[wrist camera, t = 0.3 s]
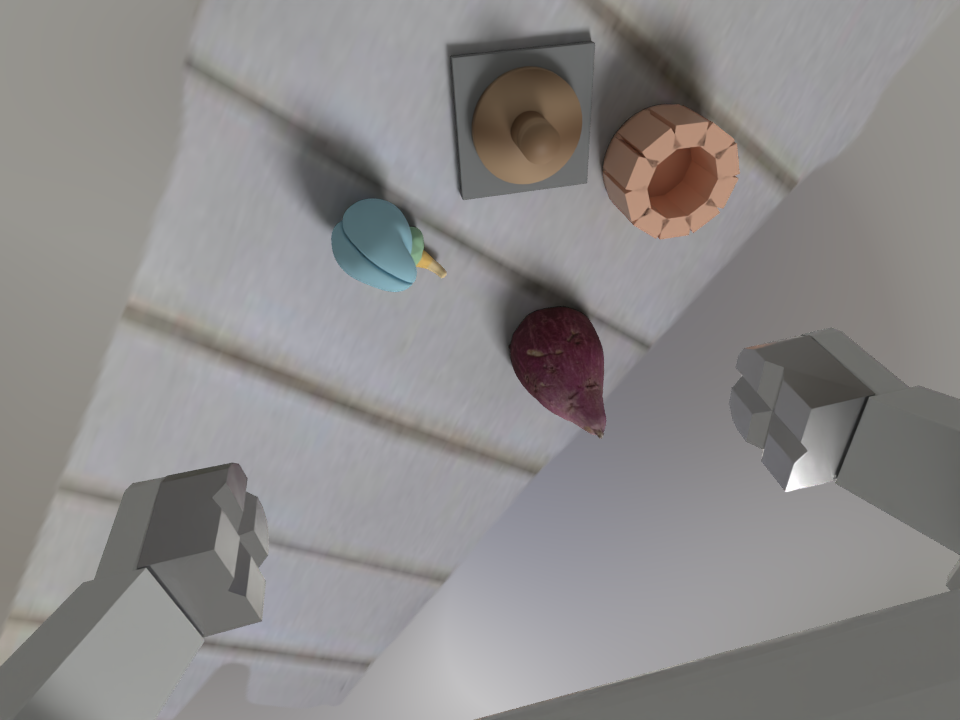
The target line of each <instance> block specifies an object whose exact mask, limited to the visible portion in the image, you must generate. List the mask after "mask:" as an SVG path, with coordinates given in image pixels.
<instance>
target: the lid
mask: <svg viewBox="0 0 960 720" xmlns="http://www.w3.org/2000/svg"><path fill="white" fill-rule="evenodd" d="M581 131H582V111H581V106H580V103H579V100H578V98H577V96H576V94H575V92H574V91H573V89H572V88H571V87H570V85H569V84H568V83H567V82H566V81H565V80H563V79H562V78H561V77H560V76H558V75H557V74H555V73H554V72H552V71H550V70H547V69H545V68H541V67H534V66H525V67H519V68H516V69H513V70H510V71H508V72H506V73H504V74H502V75H501V76H499V77H498V78H496V79H495V80H494V81H493V82H492V83H491V84H490V85H489V86H488V87H487V88H486V89H485V91H484V92H483V94H482V95H481V97H480V98H479V100H478V102H477V105H476V107H475V110H474V114H473V118H472V139H473V143H474V147H475V149H476V152H477V154H478V156H479V157H480V159H481V161H482V163H483V164H484V165H485V167H486V168H487V169H488V170H489V171H490V172H491V173H492V174H493V175H495V176H496V177H498V178H499V179H501V180H503V181H506V182H509V183H514V184H531V183H536V182H539V181H542V180H544V179H546V178H548V177H550V176H552V175H553V174H555V173H556V172H557V171H559V170H560V169H561V168H562V167H563V166H564V165H565V164H566V163H567V161H568V160H569V159H570V158H571V156H572V154H573V153H574V151H575V149H576V147H577V145H578V142H579V139H580V135H581Z"/></svg>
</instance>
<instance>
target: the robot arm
mask: <svg viewBox="0 0 960 720" xmlns="http://www.w3.org/2000/svg"><path fill="white" fill-rule="evenodd" d="M736 369H737V370H738V371H739V373H740V374H741V375H742V377H741V378H740V379H739V380H738V381H737V383H736V384H735V385H734V386H733V387H732V389H731V396H730V402H729V404H730V409H731V415H732V419H733V421H734V423H735V426H736V428H737V430H738V431H739V433H740V434H741V435H742V437H743V438H744V439H745V441H746V442H748V443H750V444H753V445H755V446H757V447H759V448H761V449H762V459H761V461H762V462H763V464H764V465H765V466H766V468H767V469H768V470H769V471H770V473H771V474H772V475H773V477H774V478H775V479H776V480H777V482H778V483H779V484H780V485H781V487H782V488H783V489H784V491H790V490H795V489H800V488H804V487H809V486H813V485H818V484H822V483H827V482H832V481H836V482H835V483H836V484H837V485H839V486H841V487H843V488H844V489H846V490H848V491H850V492H851V493H853V494H855V495H856V496H858V497H860V498H862V499H864V500H865V501H867V502H869V503H870V504H872V505H874V506H876V507H877V508H879V509H881V510H882V511H884V512H886V513H888V514H889V515H891V516H893V517H895V518H897V519H898V520H900V521H901V522H903V523H905V524H907V525H909V526H910V527H912V528H914V529H916V530H917V531H919V532H921V533H922V534H924V535H926V536H928V537H929V538H931V539H933V540H934V541H936V542H938V543H940V544H941V545H943V546H945V547H947V548H948V549H950V550H952V551H954V552H955V553H957V554H959V555H960V399H958V398H955V397H952V396H949V395H946V394H943V393H940V392H937V391H934V390H931V389H928V388H925V387H922V386H915V387H909V386H907V385H906V384H905V383H904V382H903V381H901V380H900V379H899V378H898V377H897V376H895V375H894V374H893V373H892V372H890V371H889V370H888V369H887V368H886V367H884V366H883V365H882V364H881V363H880V362H878V361H877V360H876V359H875V358H873V357H872V356H871V355H870V354H868V353H867V352H866V351H865V350H864V349H863V348H861V347H860V346H859V345H858V344H856V343H855V342H854V341H853V340H852V339H850V338H849V337H848V336H847V335H846V334H844V333H843V332H842V331H840V330H838V329H834V328H827V329H823V330H819V331H814V332H810V333H806V334H802V335H801V336H795V337H790V338H786V339H782V340H778V341H773V342H769V343H764V344H760V345H756V346H751V347H747V348H744V349H743V350H742V351H741V353H740V354H739V356H738V359H737V364H736ZM246 486H247V477H246V475H245V473H244V472H243V470H242V468H241V467H240V465H239V464H237V463H229V464H223V465H218V466H213V467H208V468H203V469H198V470H193V471H188V472H183V473H178V474H173V475H168V476H166V477H163V478H158V479H152V480H147V481H142V482H137V483H132V484H131V485H130V486H129V487H128V488H127V489H126V490H125V492H124V494H123V497H122V500H121V503H120V506H119V509H118V512H117V515H116V518H115V520H114V523H113V526H112V529H111V532H110V535H109V538H108V541H107V544H106V546H105V549H104V552H103V555H102V558H101V561H100V564H99V567H98V570H97V572H96V575H95V578H94V580H91V581H87V582H84V583H82V584H81V585H80V586H79V587H78V588H77V589H76V590H75V591H74V592H73V593H72V594H71V595H70V596H69V597H68V598H67V599H66V600H65V601H64V602H63V603H62V604H61V605H60V607H59V608H58V609H57V610H56V611H55V612H54V613H53V614H52V615H51V616H50V617H49V618H48V619H47V620H46V621H45V622H44V623H43V624H42V625H41V626H40V627H39V628H38V629H37V630H36V631H35V632H34V633H33V634H32V635H31V636H30V637H29V638H28V639H27V640H26V641H25V642H24V643H23V644H22V645H21V646H20V647H19V648H18V649H17V650H16V651H15V652H14V653H13V654H12V655H11V656H10V657H9V658H8V659H7V660H6V661H5V663H4V664H3V665H2V666H1V667H0V720H156V718H157V716H158V715H159V713H160V711H161V710H162V708H163V707H164V705H165V703H166V702H167V700H168V699H169V697H170V695H171V694H172V692H173V691H174V689H175V687H176V686H177V684H178V683H179V681H180V679H181V678H182V676H183V675H184V673H185V671H186V670H187V668H188V666H189V665H190V663H191V662H192V660H193V658H194V657H195V655H196V654H197V652H198V650H199V649H200V647H201V646H202V644H203V642H204V638H203V637H206V636H210V635H214V634H217V633H221V632H225V631H228V630H232V629H236V628H239V627H243V626H246V625H250V624H254V623H257V622H261V621H262V616H263V605H264V594H265V584H266V581H265V579H264V577H263V575H262V574H261V572H260V570H259V569H258V568H259V567H260V565H261V564H262V563H263V561H264V560H265V559H266V557H267V556H268V548H269V533H268V525H267V519H266V516H265V512H264V509H263V507H262V505H261V503H260V501H259V499H258V497H256V496H254V495H252V494H250V493H248V492H246ZM946 586H947V587H948V588H949V590H950V591H949V592H945V593H941V594H938V595H934V596H930V597H927V598H923V599H919V600H915V601H912V602H908V603H905V604H901V605H897V606H893V607H890V608H886V609H882V610H878V611H875V612H871V613H867V614H863V615H860V616H856V617H852V618H849V619H845V620H841V621H838V622H834V623H830V624H826V625H823V626H819V627H815V628H812V629H808V630H804V631H801V632H797V633H793V634H790V635H786V636H782V637H778V638H775V639H771V640H768V641H764V642H760V643H756V644H753V645H749V646H745V647H741V648H738V649H734V650H730V651H726V652H723V653H719V654H715V655H712V656H708V657H704V658H701V659H697V660H693V661H690V662H686V663H682V664H678V665H675V666H671V667H667V668H663V669H660V670H656V671H653V672H649V673H645V674H641V675H638V676H634V677H630V678H627V679H623V680H619V681H616V682H612V683H608V684H604V685H601V686H597V687H593V688H590V689H586V690H582V691H578V692H575V693H572V694H568V695H564V696H560V697H556V698H553V699H549V700H546V701H542V702H538V703H535V704H531V705H527V706H523V707H519V708H516V709H512V710H508V711H505V712H501V713H497V714H493V715H490V716H486V717H482V718H479V719H475V720H960V559H959V560H958V562H957V563H956V565H955V566H954V568H953V569H952V571H951V572H950V574H949V575H948V577H947V583H946Z"/></svg>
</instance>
